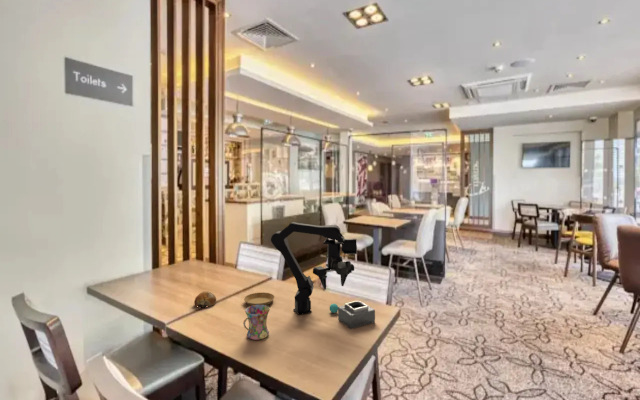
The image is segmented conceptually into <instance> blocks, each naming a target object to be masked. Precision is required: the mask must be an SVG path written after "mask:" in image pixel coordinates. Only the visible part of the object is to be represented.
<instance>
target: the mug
mask: <svg viewBox="0 0 640 400" xmlns="http://www.w3.org/2000/svg"><path fill="white" fill-rule="evenodd" d="M244 312H245V315H246V318H245V319H244V320H243V323H242V324H243V327H244V328H245V330H247V333H246V338H248V339H250V340H256V341H257V340H258V341H259V340H262V339H265V338H267V337H268V336H269V335H270V331H269V329H268V325H267V320H268V315H269V312H270V307H269V305H266V306H265V305H253V306H250V305H249V306H248V307H247V308H245V310H244ZM247 320H248V321H247ZM246 322H248V327H247V326H246Z"/></svg>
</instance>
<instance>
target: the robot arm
mask: <svg viewBox="0 0 640 400" xmlns="http://www.w3.org/2000/svg"><path fill="white" fill-rule="evenodd" d="M293 233H300V234H301V233H302V234H308V235H309V234H310V235H315V236H316V235H318V236H321V237H323V238H326V239H325V240H324V241H323V242H322V243H323V245H327V254H326V255H325V258H326V259H327V263H326V264H325V267H324V266H322V265H320V266H315V267H313V269H312V274H314V275H315V276H317V277H318V278H319V280H320V283H321V284H322V288H323V290H327V278H328V276H327V273H331V272H336V273H335V274H337V275H339V276H340V285H341V287H344V285H345V283H346V280H347V278H348V275H350V274H352V272H354V271H355V265H354V264H353V263H351V261H350V260H347V261H343V256H341V252H342V253H344V255H357V254H358V246H357V245H358V244H357V238H345V237H344V234H342V232H341V228H340V227H339V226H338V225H337V224H327V225H317V224H316V225H315V224H308V223H301V222H296V221H292V222H290V223H289V224H288V225H287V226H286V227H284V229H282V230H278V231H276V232H275V233H273V234H272V235H271V236H270V237H271V238H270V242H271V244H272V245H273V247H274V248H275V249H276V250H277V251H278V252H280V254H281V255H282V257H283V259H284V261H285V263H286V264H287V266H288V267H289V270H290V271H291V273H292V275H293V277H294V279H295V281H296V285H297V289H298V290H297V291H296V293H295V296H294V308H293V311H294V312H295V313H296V314H297V315H299V316H300V315H305V314H310V313H312V301H311V298H310V296H312V294H313V291H314V286H315V285H314V281H313V280H312V278H311V275H308V276H307V275H305V274H304V272H303V270H302V268H301V266H300V265H299V263H298V260H297V259H296V257H295V256H294V255H295V254H294V253H293V251H292V250H291V248H290V244H289V239H288V237H289V236H290V235H292V234H293Z"/></svg>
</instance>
